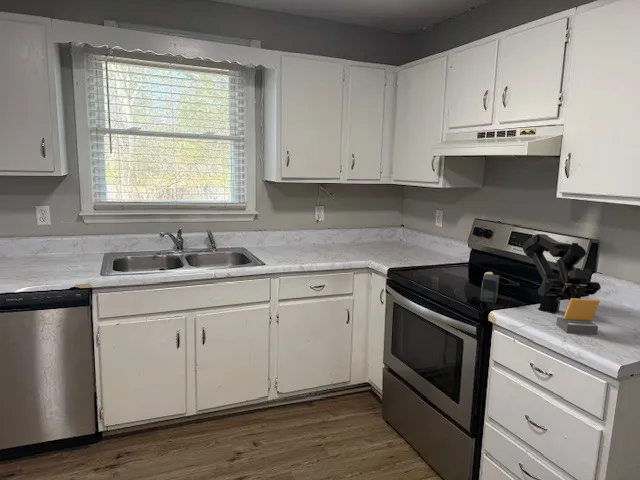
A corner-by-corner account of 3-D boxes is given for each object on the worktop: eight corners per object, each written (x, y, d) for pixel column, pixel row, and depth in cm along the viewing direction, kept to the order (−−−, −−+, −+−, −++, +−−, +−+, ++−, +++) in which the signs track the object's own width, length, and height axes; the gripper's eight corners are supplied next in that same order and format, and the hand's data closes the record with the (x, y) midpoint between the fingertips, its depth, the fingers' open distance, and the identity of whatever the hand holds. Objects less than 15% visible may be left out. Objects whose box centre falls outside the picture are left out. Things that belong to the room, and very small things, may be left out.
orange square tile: (562, 318, 172) (570, 297, 167) (590, 320, 172) (598, 299, 167) (563, 320, 171) (571, 299, 166) (591, 322, 171) (600, 301, 166)
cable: (512, 279, 245) (513, 273, 245) (521, 287, 229) (522, 281, 229) (482, 276, 247) (483, 270, 247) (489, 285, 231) (489, 278, 231)
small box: (482, 295, 211) (484, 273, 209) (497, 297, 208) (500, 275, 206) (479, 301, 201) (482, 278, 199) (495, 303, 199) (498, 280, 197)
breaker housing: (556, 324, 176) (557, 316, 175) (584, 326, 176) (586, 318, 175) (566, 332, 168) (567, 324, 167) (596, 334, 168) (598, 326, 167)
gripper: (552, 259, 173) (562, 296, 164) (602, 261, 173) (615, 298, 164) (540, 273, 182) (549, 309, 174) (587, 276, 182) (598, 312, 173)
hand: (578, 307), depth 171 cm, fingers closed
